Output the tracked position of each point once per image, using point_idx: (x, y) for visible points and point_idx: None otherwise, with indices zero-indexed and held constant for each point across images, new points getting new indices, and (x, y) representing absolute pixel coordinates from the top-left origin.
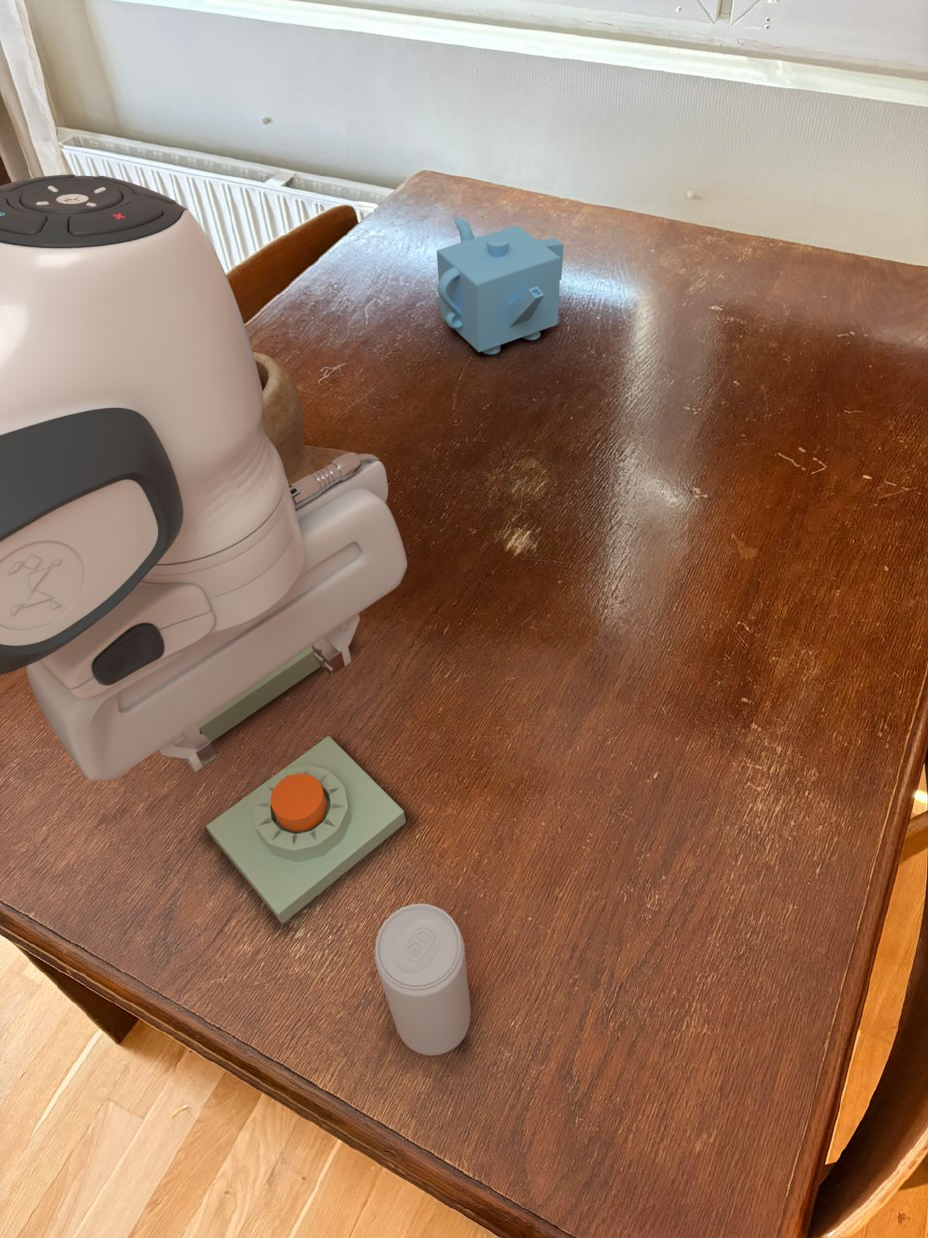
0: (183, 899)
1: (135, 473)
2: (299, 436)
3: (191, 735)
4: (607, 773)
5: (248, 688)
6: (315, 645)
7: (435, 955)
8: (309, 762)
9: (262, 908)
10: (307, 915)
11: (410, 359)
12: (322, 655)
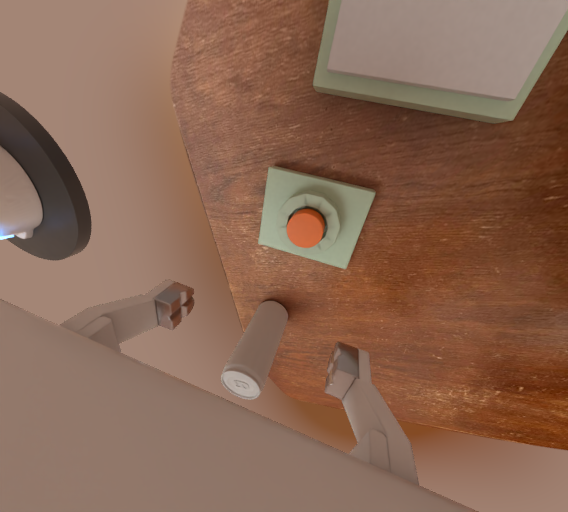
0: (238, 182)
1: None
2: None
3: (161, 311)
4: (430, 339)
5: (387, 90)
6: (336, 375)
7: (242, 391)
8: (347, 196)
9: None
10: None
11: None
12: (329, 381)
